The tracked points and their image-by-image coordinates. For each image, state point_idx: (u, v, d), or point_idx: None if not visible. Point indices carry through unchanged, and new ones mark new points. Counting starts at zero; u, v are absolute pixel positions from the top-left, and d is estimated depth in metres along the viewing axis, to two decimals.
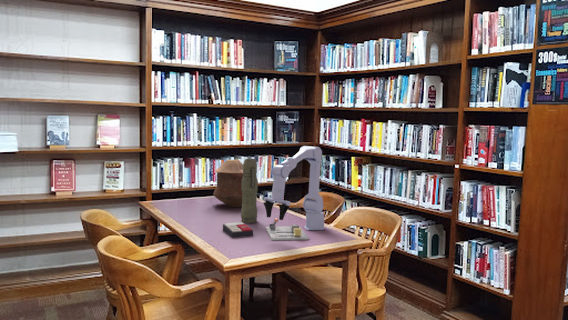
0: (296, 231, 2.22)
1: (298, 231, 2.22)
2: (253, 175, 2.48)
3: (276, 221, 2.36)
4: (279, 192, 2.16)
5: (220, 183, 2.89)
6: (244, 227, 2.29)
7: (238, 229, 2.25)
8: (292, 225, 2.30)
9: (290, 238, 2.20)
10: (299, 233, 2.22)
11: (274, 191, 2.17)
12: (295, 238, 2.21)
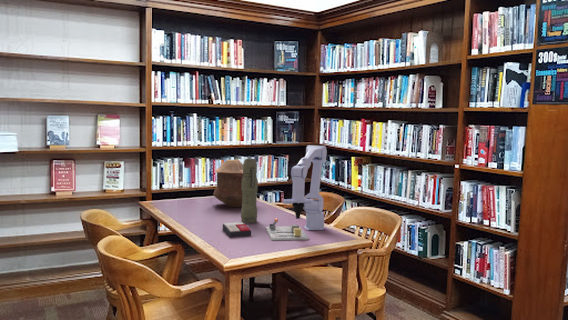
0: (296, 231, 2.22)
1: (298, 231, 2.22)
2: (253, 175, 2.48)
3: (276, 221, 2.36)
4: (303, 193, 2.20)
5: (220, 183, 2.89)
6: (243, 227, 2.29)
7: (236, 229, 2.25)
8: (292, 225, 2.30)
9: (290, 238, 2.20)
10: (299, 233, 2.22)
11: (299, 193, 2.19)
12: (295, 238, 2.21)
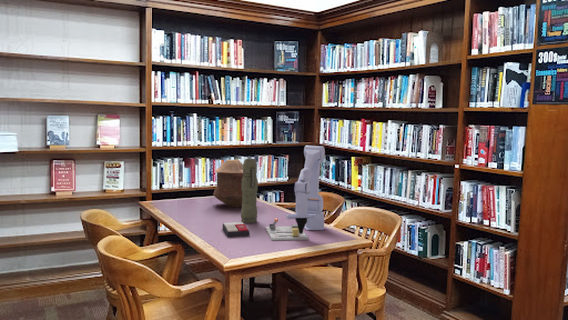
0: (294, 231, 2.22)
1: (296, 231, 2.22)
2: (253, 175, 2.48)
3: (276, 221, 2.36)
4: (306, 208, 2.21)
5: (220, 183, 2.89)
6: (241, 227, 2.29)
7: (234, 229, 2.26)
8: (292, 225, 2.30)
9: (290, 238, 2.20)
10: (297, 233, 2.22)
11: (302, 208, 2.20)
12: (295, 238, 2.21)
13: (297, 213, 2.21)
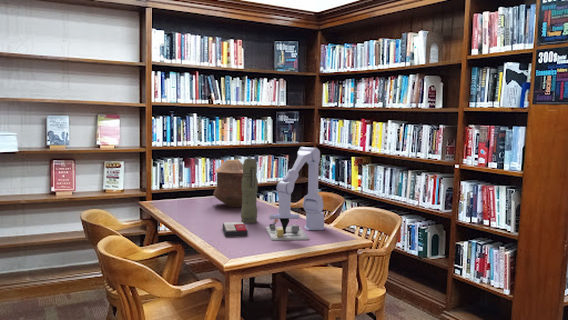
0: (278, 231, 2.21)
1: (280, 231, 2.21)
2: (253, 175, 2.48)
3: (276, 221, 2.36)
4: (289, 208, 2.20)
5: (220, 183, 2.89)
6: (240, 227, 2.29)
7: (233, 228, 2.26)
8: (292, 225, 2.30)
9: (290, 238, 2.20)
10: (281, 233, 2.21)
11: (285, 208, 2.19)
12: (295, 238, 2.21)
13: (280, 213, 2.20)
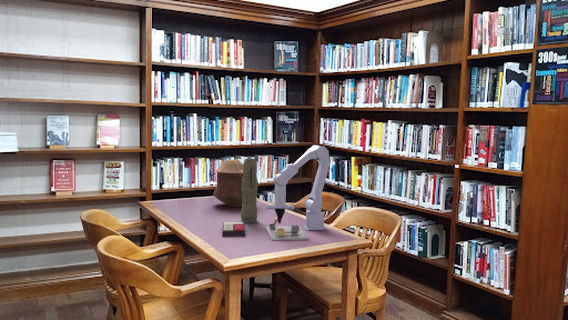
0: (280, 231, 2.21)
1: (282, 231, 2.21)
2: (253, 175, 2.48)
3: (276, 221, 2.36)
4: (284, 199, 2.35)
5: (220, 183, 2.89)
6: (238, 227, 2.29)
7: (230, 228, 2.26)
8: (292, 225, 2.30)
9: (290, 238, 2.20)
10: (283, 233, 2.21)
11: (280, 199, 2.33)
12: (295, 238, 2.21)
13: (276, 204, 2.34)
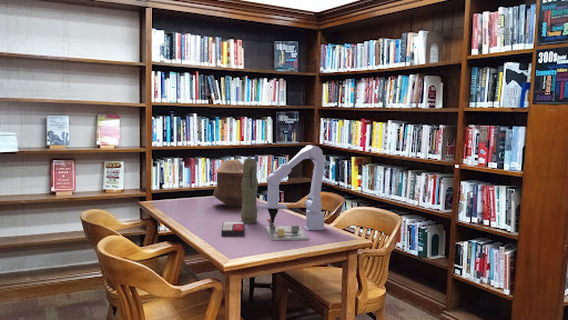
0: (280, 231, 2.21)
1: (282, 231, 2.21)
2: (253, 175, 2.48)
3: (269, 221, 2.35)
4: (277, 199, 2.34)
5: (220, 183, 2.89)
6: (237, 227, 2.29)
7: (229, 228, 2.27)
8: (292, 225, 2.30)
9: (290, 238, 2.20)
10: (283, 233, 2.21)
11: (273, 199, 2.32)
12: (295, 238, 2.21)
13: (269, 204, 2.33)
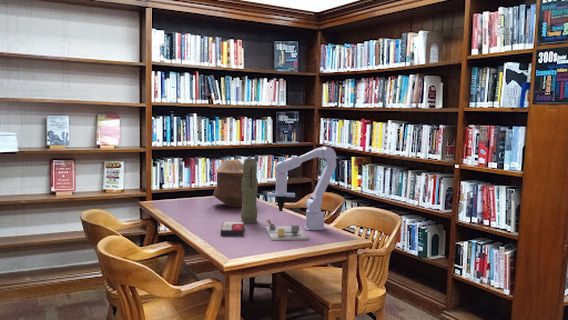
0: (280, 231, 2.21)
1: (282, 231, 2.21)
2: (253, 175, 2.48)
3: (269, 221, 2.35)
4: (285, 187, 2.36)
5: (220, 183, 2.89)
6: (237, 227, 2.29)
7: (229, 228, 2.27)
8: (292, 225, 2.30)
9: (290, 238, 2.20)
10: (283, 233, 2.21)
11: (282, 187, 2.35)
12: (295, 238, 2.21)
13: (277, 192, 2.36)
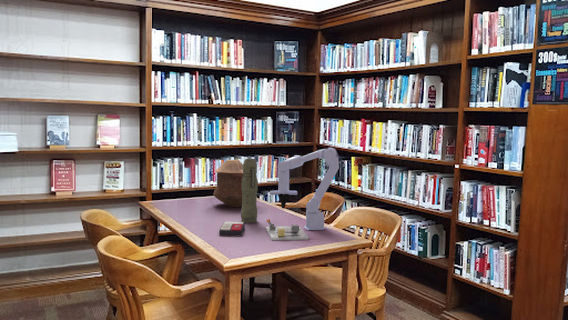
0: (280, 231, 2.21)
1: (282, 231, 2.21)
2: (253, 175, 2.48)
3: (269, 221, 2.35)
4: (288, 185, 2.43)
5: (220, 183, 2.89)
6: (236, 227, 2.29)
7: (228, 228, 2.27)
8: (292, 225, 2.30)
9: (290, 238, 2.20)
10: (283, 233, 2.21)
11: (284, 185, 2.42)
12: (295, 238, 2.21)
13: (279, 189, 2.43)
